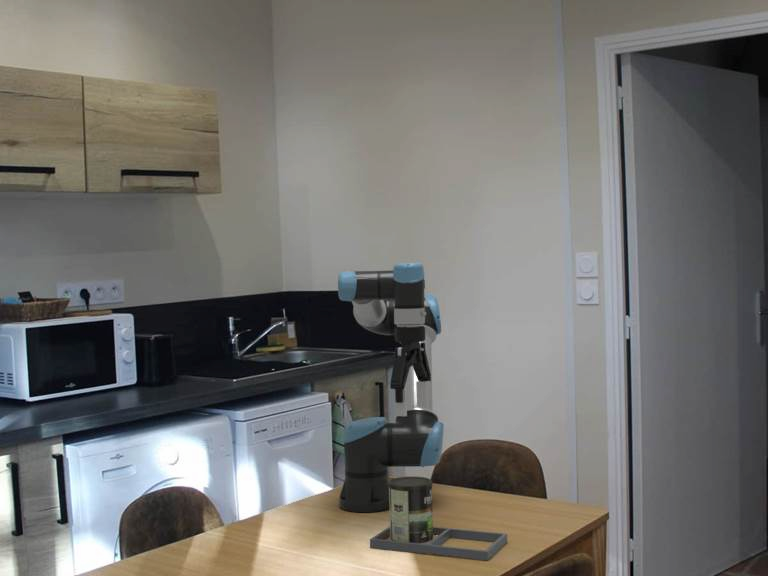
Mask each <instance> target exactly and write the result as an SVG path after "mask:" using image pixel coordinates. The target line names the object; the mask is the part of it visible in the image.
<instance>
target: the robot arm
mask: <svg viewBox="0 0 768 576" xmlns="http://www.w3.org/2000/svg"><path fill="white" fill-rule="evenodd" d="M392 269H393V270H356V271H355V270H350V271H342V272H340V273H339V275H338V276H337V277H338V278H337V293H338V298H339V300H340V301H341V302H344V301H345V302H351V304H352V306H353V309H352V310H353V311H352V313H353V317H354V318H355V321H356V322H357V324H358V325H359V326H361V327H362V328H363V329H365V330H367V331H369V332H371V333H375V334H378V335H383V336H394V341H395V342H397V343H399V344H400V347H397V346H395V347H394V348H395V349H394V361H393V366H392V370H391V371H392V372H391V377H390V383H389V385H390V389H391V390H394V413H395V414H394V416H395V422H388V420H387V418H386V417H385V416H381V417H380V416H373V417H372V416H371V417H366V418H360V419H355V420H353V421H351V422H349V423H347V424H346V425H345V426H344V431H343V432H344V433H343V445H344V450H343V451H344V481H343V484H342V487H341V490H340V494H339V497H338V503H339V504H338V506H339V508H340V509H342V510H344V511H346V512H347V511H348V512H354V513H375V512H382V511H388V510H390V504H389V485H388V481H390V480H391V479H390V477H389V467H390V468H392V467H393V468H394V467H396V468H398V467H399V468H401V467H402V468H403V467H404V468H405V467H406V468H407V467H408V468H409V467H421V468H424V467H431V466H432V467H433V466H436V465H438V464H439V463H440V462H441V459H442V458H441V457H442V451H443V443H444V442H443V439H444V423H443V422H442V421H439V417H438V415H437V414H436V413H435V412H434V411H433V376H432V375H433V371H432V370H433V367H432V364H433V363H432V355H433V354H432V344H433V343H434V342H435V341H436V339H437V336H438V335H440V334H441V333H442V323H441V315H440V308H439V303H438V300H437V298H436V296H434V295H429V294H428V295H427V294H426V295H425V289H426V282H425V281H426V280H425V272H424V265H423V263H421V262H397V263H395V264H394V265H393V268H392Z"/></svg>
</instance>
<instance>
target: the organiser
mask: <svg viewBox="0 0 768 576" xmlns="http://www.w3.org/2000/svg"><path fill="white" fill-rule="evenodd" d="M436 535H438V536H436ZM450 537H452V538H450ZM449 539H461V540H470V539H471V541H479V540H483V541H482V542H489V541H491V542H492V544H491V545H489V546H488V547H487V548H486V549H485V550H484V549H475V548H466V547H457V546H456V547H454V546H449V545H448V546H447V545H446V546H445V545H443V544H444V543H446V540H447V541H448V540H449ZM442 543H443V544H442ZM507 543H508V533H504V532H503V533H502V532H493V531H482V530H472V529H471V530H470V529H463V528H453V527H443V526H442V527H440V526H433V540H432V541H430V542H429V543H428V544H420V543H410V542H401V541H391V540H390V526H388V527H387V528H385V529H384V530H382V531H381V532H379V533H377V534H376V535H375V536H373V537H371V538H370V539H369V548H370V549H377V550H385V551H386V550H387V551H395V552H404V553H412V552H416V553H415V554H421V553H429V554H428V555H430V554H436V555H435V556H439V555H444V556H443V557H448V556H452V557H451V558H457V557H460V558H459V559H466V558H470V559H469V560H475V559H479V560H478V561H484V560H487V561H486V562H488V561H489V560H491V558H492V557H493V556H495V554H497V553H498V552H499V551H500V550H501V549H502V548H504V546H505V545H506V544H507ZM441 544H442V545H441ZM417 552H418V553H417ZM420 552H421V553H420Z"/></svg>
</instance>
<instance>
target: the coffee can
mask: <svg viewBox="0 0 768 576" xmlns="http://www.w3.org/2000/svg"><path fill="white" fill-rule="evenodd" d="M389 480H390V481H388V485H389V504H390V509H389V527H390V537H389V538H390V540H391V541H401V542H410V543H420V544H428V543H429V542H430V541H432V540H433V527H434V522H433V521H434V518H433V516H434V515H433V490H432V489H433V487H432V486H433V480H432V479H430V478H428V477H423V476H401V477H395V478H392V479H389Z"/></svg>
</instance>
